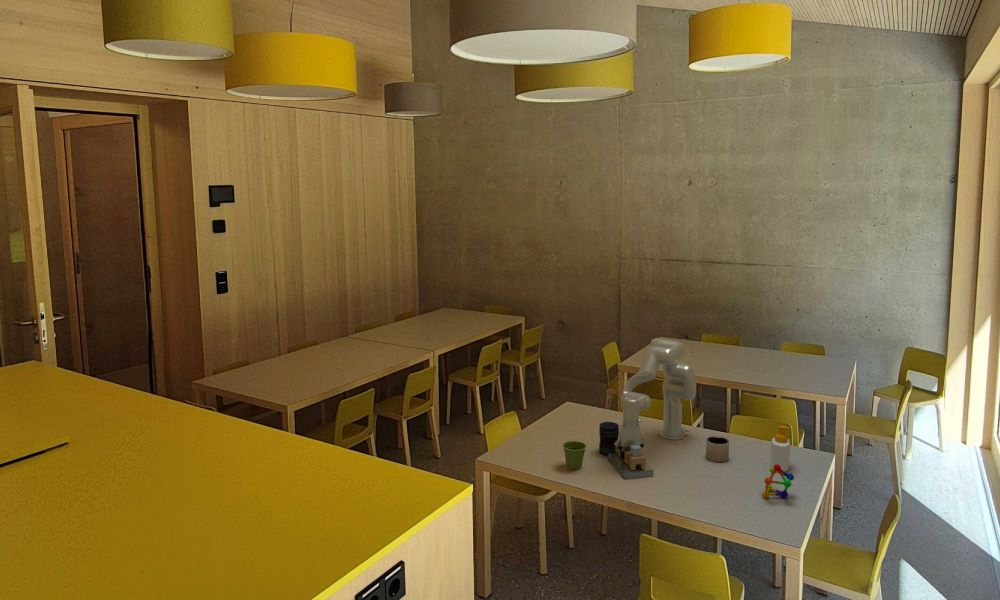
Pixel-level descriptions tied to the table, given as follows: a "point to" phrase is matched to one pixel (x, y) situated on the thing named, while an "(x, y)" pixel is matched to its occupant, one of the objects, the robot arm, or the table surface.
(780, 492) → the educational toy
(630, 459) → the wooden block carrier
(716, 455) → the planter
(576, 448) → the plant pot
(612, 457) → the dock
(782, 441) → the soap bottle
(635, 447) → the block
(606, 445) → the storage jar
